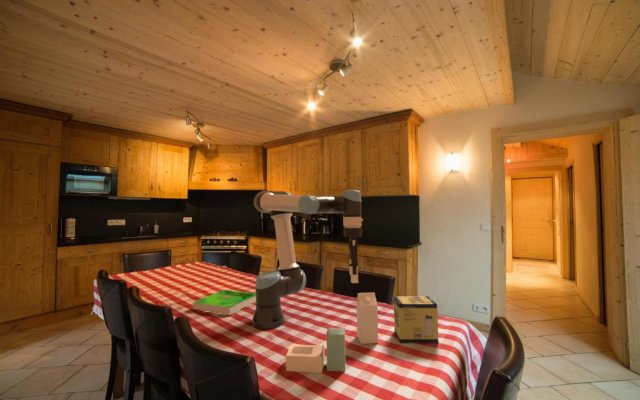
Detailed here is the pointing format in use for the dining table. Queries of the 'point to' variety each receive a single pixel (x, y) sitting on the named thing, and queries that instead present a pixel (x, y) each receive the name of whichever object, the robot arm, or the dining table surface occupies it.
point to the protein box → (415, 319)
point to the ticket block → (305, 358)
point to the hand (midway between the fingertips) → (353, 278)
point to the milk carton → (367, 318)
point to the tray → (225, 302)
